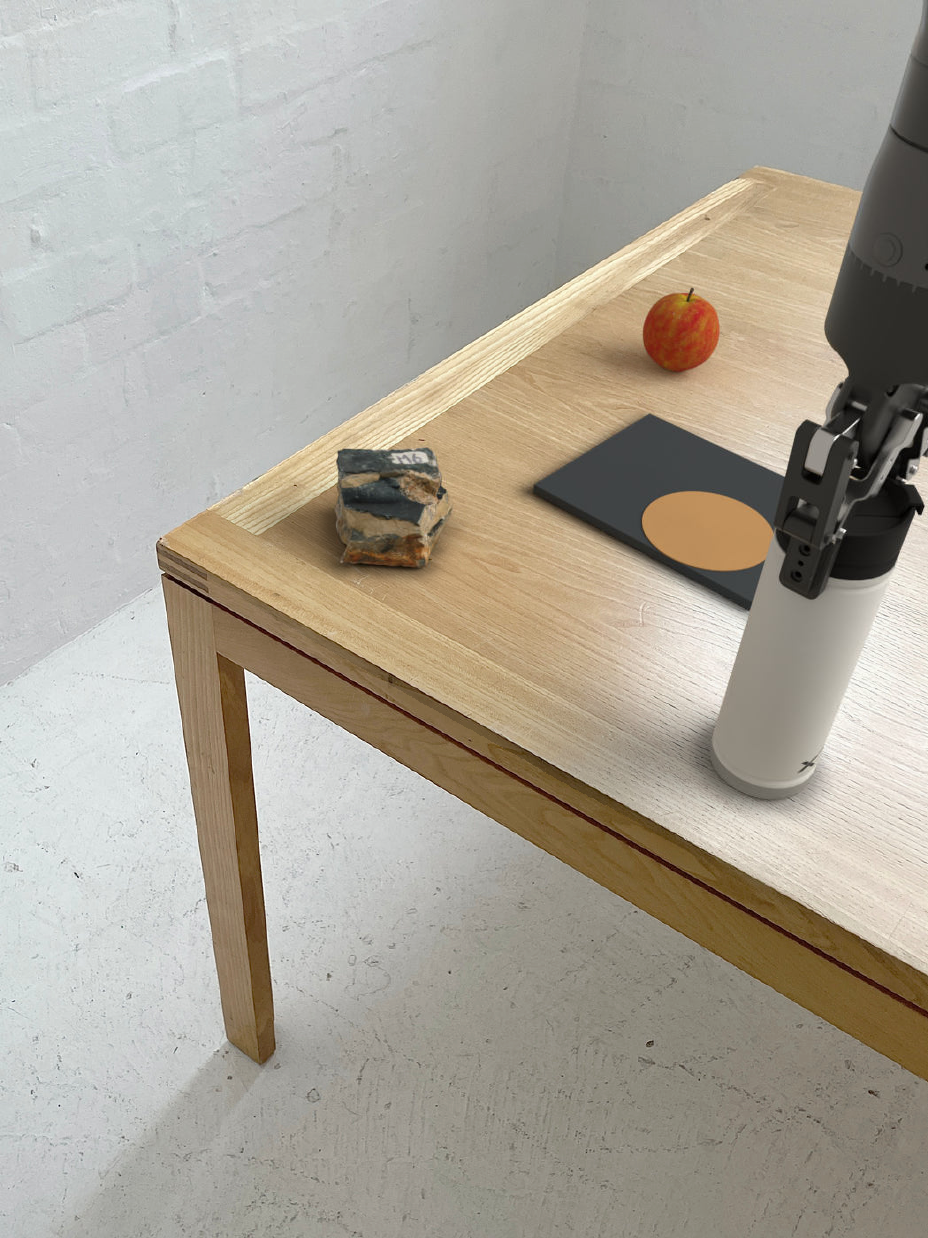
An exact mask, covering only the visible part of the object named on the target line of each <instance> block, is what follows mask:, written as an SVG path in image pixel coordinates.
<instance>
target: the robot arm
mask: <svg viewBox="0 0 928 1238" xmlns="http://www.w3.org/2000/svg"><path fill="white" fill-rule="evenodd" d="M891 113H892V114H891V117H890V119H889V123H888V126H887V129H886V132H885V134H884V137H883V140H882V142H881V144H880V147H879V149H878V151H877V153H876V155H875V158H874V160H873V163H872V165H871V168H870V169H869V172H868V175H867V177H866V181H865V183H864V187H863V189H862V193H861V197H860V200H859V203H858V206H857V210H856V214H855V216H854V220H853V224H852V227H851V229H850V233H849V237H848V240H847V244H846V248H845V249H844V254H843V258H842V261H841V264H840V268H839V271H838V275H837V278H836V281H835V284H834V288H833V292H832V296H831V299H830V302H829V305H828V309H827V312H826V316H825V320H824V325H823V330H824V335H825V338H826V340H827V343H828V344H829V346H830V347H831V349H833V351H834V352H836V353H837V354H838V356H839V357H840V359H841V360H842V361H843V363H844V364H845V367H846V368H847V371H848V374H847V377H845V379H844V380H841V381H840V382H839V383H838V384H837V386H835V389H834V390H833V392H832V394H831V397H830V399H829V400H828V402H827V404H826V407H825V410H824V412H825V421H824V422H823V425H822V424H819V423H817V422H814V421H813V420H810V419H805V420H803V421H802V422H801V423H800V425H799V426H798V427H797V429H796V430H795V432H794V437H793V442H792V445H791V448H790V449H791V450H790V454H789V458H788V462H787V465H786V471H785V473H784V474H785V475H784V477H785V478H784V482H783V487H782V491H781V495H780V499H779V503H778V507H777V511H776V515H775V520H774V527H775V528H777V529H779V530H781V531H784V532H785V533H787V534H789V535H791V539H790V542H789V545H788V548H787V552H786V555H785V558H784V561H783V564H782V567H781V571H780V574H779V581H780V583H781V584H782V585H783V586H784V587H786V588H788V589H789V590H791V591H793V592H795V593H797V594H799V595H801V596H803V597H805V598H807V599H809V600H814V599H816V598H817V597H818V596H819V595H820V594H821V593H822V592H824V590H825V587H826V585H827V582H828V579H829V576H830V573H831V570H832V568H833V565H834V562H835V559H836V556H837V553H838V551H839V548H840V545H841V542H842V539H843V538H844V537H845V535H846V533H847V529H848V527H849V525H850V523H851V521H852V519H853V517H854V515H855V513H856V511H857V509H858V507H859V506H860V504H861V503H862V502H864V501H870V500H873V499H874V498H875V497H876V496H877V494H878V492H879V490H880V488H881V486H882V485H883V483H884V481H885V479H886V477H887V476H888V477H890V478H892V479H894V480H896V481H897V482H899V483H900V484H907V482H909V481H911V480H912V478H913V477H915V476H916V475H917V473H918V472H919V468H920V467H919V466H920V462H921V458H922V457H924V458H928V0H922V8H921V16H920V20H919V24H918V28H917V31H916V33H915V36H914V39H913V43H912V45H911V49H910V53H909V56H908V59H907V63H906V67H905V69H904V73H903V76H902V80H901V83H900V86H899V89H898V93H897V96H896V100H895V103H894V106H893V110H892V112H891ZM854 467H856V468H862V469H867V470H869V471H870V472H869V473H868V475H867V476H866V477H865V478H864V479H862V480H859V479H856V478H854V477H852V476H850V474H851V471H852V469H853V468H854ZM904 480H905V481H904ZM844 496H845V498H844ZM843 498H844V501H843ZM842 501H843V503H842ZM815 506H816V507H815Z"/></svg>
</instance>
